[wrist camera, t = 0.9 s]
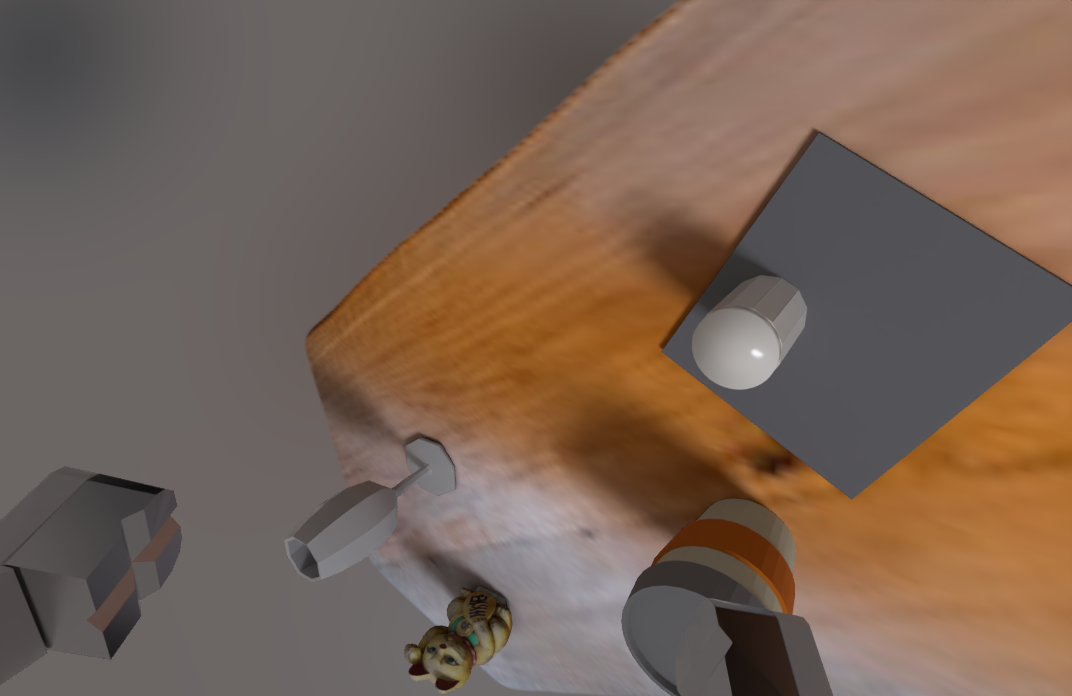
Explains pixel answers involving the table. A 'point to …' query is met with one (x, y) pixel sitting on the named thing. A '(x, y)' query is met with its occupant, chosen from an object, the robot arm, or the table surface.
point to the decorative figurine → (461, 640)
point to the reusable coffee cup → (708, 580)
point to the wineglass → (363, 515)
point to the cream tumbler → (749, 332)
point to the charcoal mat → (877, 315)
